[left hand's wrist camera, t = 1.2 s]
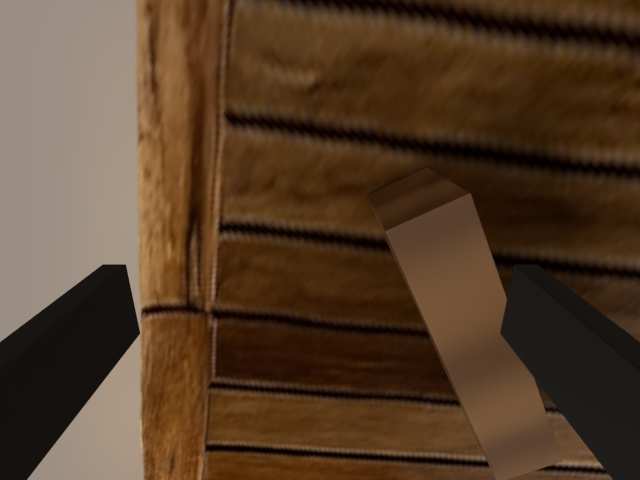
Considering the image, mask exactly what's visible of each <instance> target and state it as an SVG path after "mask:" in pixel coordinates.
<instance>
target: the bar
mask: <svg viewBox="0 0 640 480" xmlns="http://www.w3.org/2000/svg"><path fill="white" fill-rule="evenodd" d="M367 199H368V201H369V203H370V205H371V208H372V210H373V212H374V214H375V216H376V219H377V221H378V223H379V225H380V228H381V230H382V232H383V234H384V236H385V239H386V241H387V243H388V245H389V248H390V250H391V252H392V254H393V256H394V259H395V261H396V263H397V265H398V268H399V270H400V272H401V274H402V277H403V279H404V281H405V283H406V285H407V288H408V290H409V292H410V294H411V297H412V299H413V301H414V303H415V305H416V308H417V310H418V312H419V314H420V317H421V319H422V321H423V323H424V325H425V328H426V330H427V332H428V334H429V337H430V339H431V341H432V343H433V345H434V348H435V350H436V352H437V354H438V357H439V359H440V361H441V363H442V365H443V368H444V370H445V372H446V374H447V377H448V379H449V381H450V383H451V385H452V388H453V390H454V392H455V394H456V397H457V399H458V401H459V403H460V405H461V407H462V409H463V411H464V414H465V416H466V418H467V420H468V422H469V424H470V426H471V428H472V430H473V432H474V435H475V437H476V439H477V441H478V443H479V445H480V447H481V449H482V451H483V454H484V456H485V458H486V460H487V462H488V464H489V466H490V468H491V470H492V472H493V475H494V477H495V479H496V480H507V479H510V478H513V477H516V476H519V475H522V474H525V473H528V472H531V471H534V470H537V469H541V468H544V467H547V466H550V465H553V464H556V463H559V462H562V458H561V455H560V452H559V449H558V446H557V443H556V440H555V438H554V435H553V432H552V429H551V426H550V423H549V420H548V417H547V414H546V411H545V408H544V405H543V403H542V400H541V397H540V394H539V391H538V388H537V385H536V382H535V379H534V377H533V375H532V374H531V373H530V372H529V370H528V369H527V368H526V366H525V365H524V364H523V363H522V361H521V360H520V359H519V357H518V356H517V355H516V354H515V352H514V351H513V350H512V348H511V347H510V346H509V344H508V343H507V342H506V341H505V339H504V338H503V337H502V335H501V334H500V331H501V326H502V321H503V316H504V312H505V307H506V302H507V298H506V295H505V292H504V289H503V286H502V283H501V280H500V277H499V274H498V271H497V268H496V266H495V263H494V260H493V257H492V254H491V251H490V248H489V245H488V242H487V239H486V236H485V233H484V231H483V228H482V225H481V222H480V219H479V216H478V213H477V210H476V207H475V204H474V201H473V198H472V196H471V193H469V192H468V191H466V190H464V189H463V188H461V187H459V186H458V185H456V184H454V183H453V182H451V181H449V180H448V179H446V178H444V177H443V176H441V175H439V174H437V173H436V172H434V171H432V170H431V169H429V168H424V169H422V170H420V171H418V172H416V173H414V174H412V175H409V176H407V177H405V178H403V179H401V180H399V181H397V182H395V183H392V184H390V185H388V186H386V187H384V188H382V189H380V190H377V191H375V192H373V193H371V194H369V195H367Z"/></svg>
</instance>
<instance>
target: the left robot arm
mask: <svg viewBox="0 0 640 480" xmlns="http://www.w3.org/2000/svg"><path fill="white" fill-rule="evenodd" d="M139 334H140V331H139V326H138V321H137V316H136V312H135V307H134V302H133V298H132V292H131V288H130V283H129V278H128V273H127V268H126V265H102V266H101V267H99V268H98V269H97V270H95V271H94V272H93V273H91V274H90V275H89V276H87V277H86V278H85V279H83V280H82V281H81V282H79V283H78V284H77V285H75V286H74V287H73V288H71V289H70V290H69V291H67V292H66V293H65V294H63V295H62V296H61V297H59V298H58V299H57V300H55V301H54V302H53V303H51V304H50V305H49V306H48V307H46V308H45V309H44V310H42V311H41V312H40V313H38V314H37V315H36V316H34V317H33V318H32V319H30V320H29V321H28V322H26V323H25V324H24V325H22V326H21V327H20V328H18V329H17V330H16V331H14V332H13V333H12V334H10V335H9V336H8V337H6V338H5V339H4V340H2V341H1V342H0V480H27V479H28V477H29V476H30V475H31V474H32V472H33V471H34V470H35V469H36V467H37V466H38V465H39V463H40V462H41V461H42V459H43V458H44V457H45V456H46V454H47V453H48V452H49V450H50V449H51V448H52V447H53V445H54V444H55V443H56V441H57V440H58V439H59V438H60V436H61V435H62V434H63V432H64V431H65V430H66V428H67V427H68V426H69V425H70V423H71V422H72V421H73V419H74V418H75V417H76V416H77V414H78V413H79V412H80V410H81V409H82V408H83V407H84V405H85V404H86V403H87V401H88V400H89V399H90V397H91V396H92V395H93V394H94V392H95V391H96V390H97V388H98V387H99V386H100V385H101V383H102V382H103V381H104V379H105V378H106V377H107V375H108V374H109V373H110V372H111V370H112V369H113V368H114V366H115V365H116V364H117V363H118V361H119V360H120V359H121V357H122V356H123V355H124V354H125V352H126V351H127V350H128V348H129V347H130V346H131V344H132V343H133V342H134V341H135V339H136V338H137V337H138V335H139ZM500 334H501V335H502V337H503V338H504V339H505V341H506V342H507V343H508V344H509V346H510V347H511V348H512V350H513V351H514V352H515V354H516V355H517V356H518V357H519V359H520V360H521V361H522V363H523V364H524V365H525V366H526V368H527V369H528V370H529V372H530V373H531V374H532V375H533V377H534V378H535V379H536V381H537V382H538V383H539V385H540V386H541V387H542V388H543V390H544V391H545V392H546V394H547V395H548V396H549V397H550V399H551V400H552V401H553V403H554V404H555V405H556V407H557V408H558V409H559V410H560V412H561V413H562V414H563V416H564V417H565V418H566V419H567V421H568V422H569V423H570V425H571V426H572V427H573V428H574V430H575V431H576V432H577V434H578V435H579V436H580V438H581V439H582V440H583V441H584V443H585V444H586V445H587V447H588V448H589V449H590V450H591V452H592V453H593V454H594V456H595V457H596V458H597V459H598V461H599V462H600V463H601V465H602V466H603V467H604V469H605V470H606V471H607V472H608V474H609V475H610V476H611V478H612V479H613V480H640V342H639V341H638V340H636V339H635V338H634V337H632V336H631V335H630V334H628V333H627V332H626V331H624V330H623V329H622V328H620V327H619V326H618V325H616V324H615V323H614V322H612V321H611V320H610V319H608V318H607V317H606V316H604V315H603V314H602V313H600V312H599V311H598V310H596V309H595V308H594V307H592V306H591V305H590V304H589V303H587V302H586V301H585V300H583V299H582V298H581V297H579V296H578V295H577V294H575V293H574V292H573V291H571V290H570V289H569V288H567V287H566V286H565V285H563V284H562V283H561V282H559V281H558V280H557V279H555V278H554V277H553V276H551V275H550V274H549V273H547V272H546V271H545V270H543V269H542V268H541V267H539V266H538V265H514V268H513V273H512V278H511V283H510V288H509V292H508V297H507V302H506V307H505V312H504V316H503V321H502V326H501V331H500Z"/></svg>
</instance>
